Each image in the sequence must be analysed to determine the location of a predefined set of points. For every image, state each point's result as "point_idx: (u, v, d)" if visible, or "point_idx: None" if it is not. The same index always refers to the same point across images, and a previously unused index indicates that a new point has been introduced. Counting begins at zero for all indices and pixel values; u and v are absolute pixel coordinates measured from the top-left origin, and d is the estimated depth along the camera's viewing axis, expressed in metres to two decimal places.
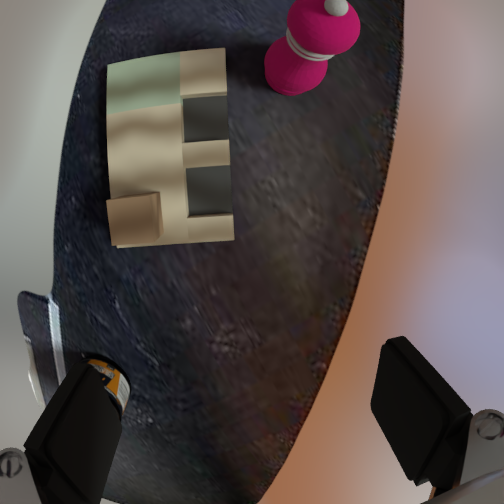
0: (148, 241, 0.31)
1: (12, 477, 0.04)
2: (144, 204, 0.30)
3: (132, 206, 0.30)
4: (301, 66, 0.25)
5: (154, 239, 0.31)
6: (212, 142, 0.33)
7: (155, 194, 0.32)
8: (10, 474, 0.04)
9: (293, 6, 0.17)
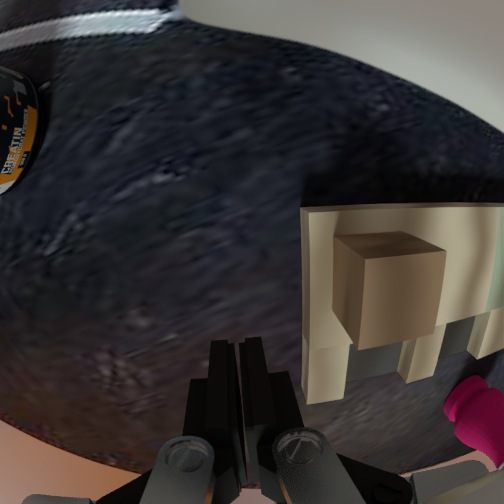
0: (361, 339, 0.14)
1: (181, 467, 0.05)
2: (423, 327, 0.15)
3: (426, 305, 0.14)
4: (491, 445, 0.18)
5: (360, 346, 0.15)
6: (435, 359, 0.22)
7: None
8: (180, 463, 0.05)
9: None
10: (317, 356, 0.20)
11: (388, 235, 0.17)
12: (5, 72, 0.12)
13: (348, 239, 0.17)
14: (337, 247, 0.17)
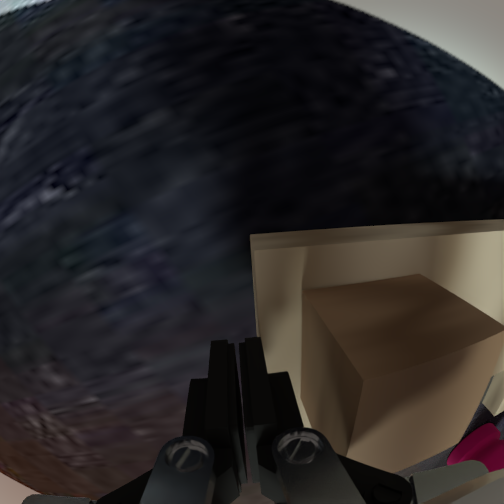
0: None
1: (181, 467, 0.05)
2: (447, 441, 0.07)
3: (458, 416, 0.07)
4: None
5: None
6: None
7: None
8: (180, 463, 0.05)
9: None
10: None
11: (400, 287, 0.10)
12: None
13: (329, 302, 0.09)
14: (309, 315, 0.10)
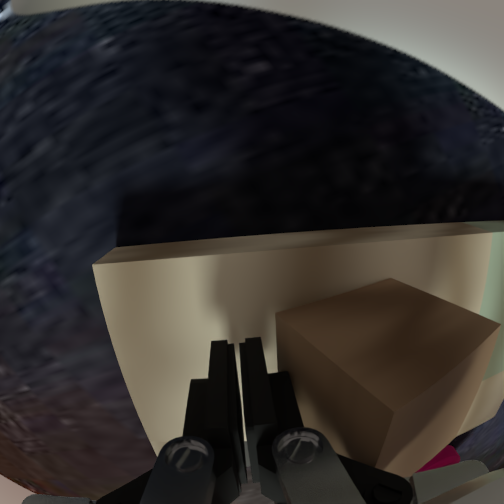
0: None
1: (181, 467, 0.05)
2: (447, 439, 0.07)
3: (458, 415, 0.07)
4: None
5: None
6: None
7: None
8: (180, 463, 0.05)
9: None
10: None
11: (378, 296, 0.09)
12: None
13: (312, 323, 0.08)
14: (289, 340, 0.08)
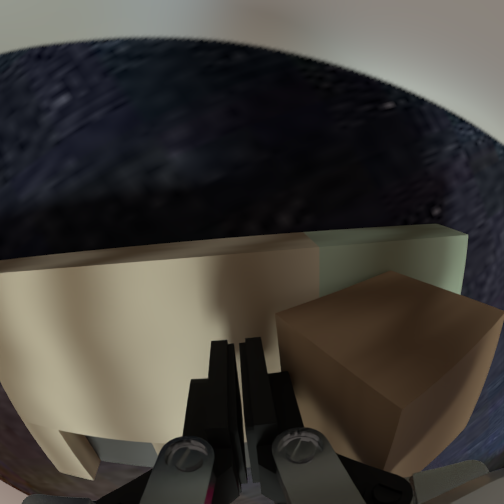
0: None
1: (181, 467, 0.05)
2: (457, 431, 0.07)
3: (467, 406, 0.07)
4: None
5: None
6: None
7: None
8: (180, 463, 0.05)
9: None
10: (34, 430, 0.12)
11: (379, 290, 0.09)
12: None
13: (313, 322, 0.08)
14: (291, 340, 0.08)
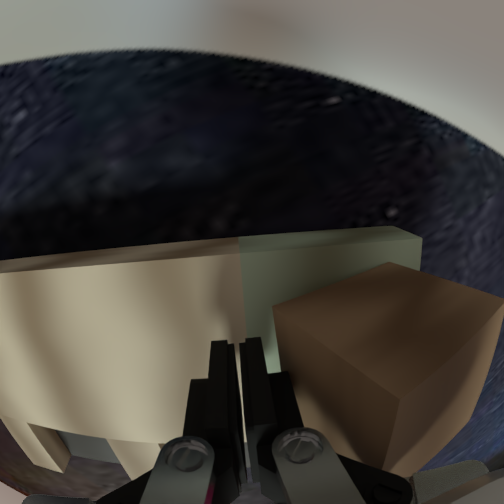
0: None
1: (181, 467, 0.05)
2: (460, 423, 0.07)
3: (470, 397, 0.07)
4: None
5: None
6: None
7: None
8: (180, 463, 0.05)
9: None
10: (7, 422, 0.12)
11: (378, 281, 0.09)
12: None
13: (310, 314, 0.08)
14: (288, 333, 0.08)
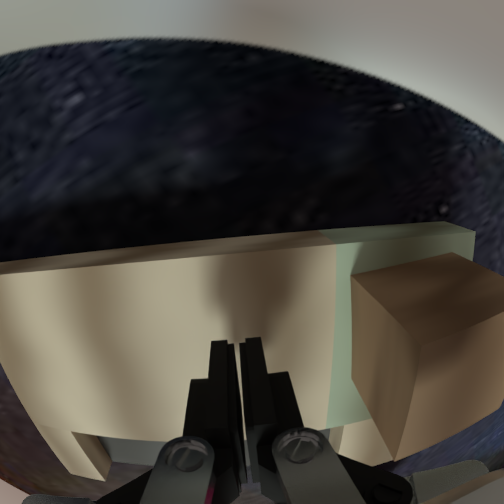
0: (401, 450, 0.07)
1: (181, 467, 0.05)
2: (489, 406, 0.07)
3: (498, 380, 0.07)
4: None
5: (398, 453, 0.08)
6: None
7: None
8: (180, 463, 0.05)
9: None
10: (45, 432, 0.12)
11: (437, 265, 0.10)
12: None
13: (377, 283, 0.10)
14: (359, 296, 0.10)
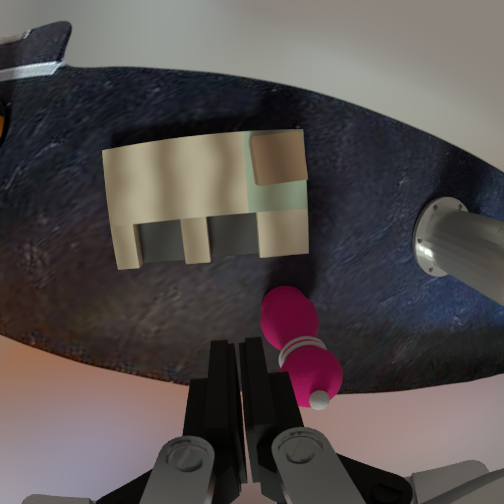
0: (259, 179, 0.29)
1: (181, 467, 0.05)
2: (298, 174, 0.29)
3: (296, 161, 0.29)
4: (278, 339, 0.32)
5: (261, 185, 0.30)
6: (206, 246, 0.36)
7: None
8: (180, 463, 0.05)
9: (324, 359, 0.25)
10: (115, 231, 0.35)
11: None
12: None
13: None
14: (249, 145, 0.32)
